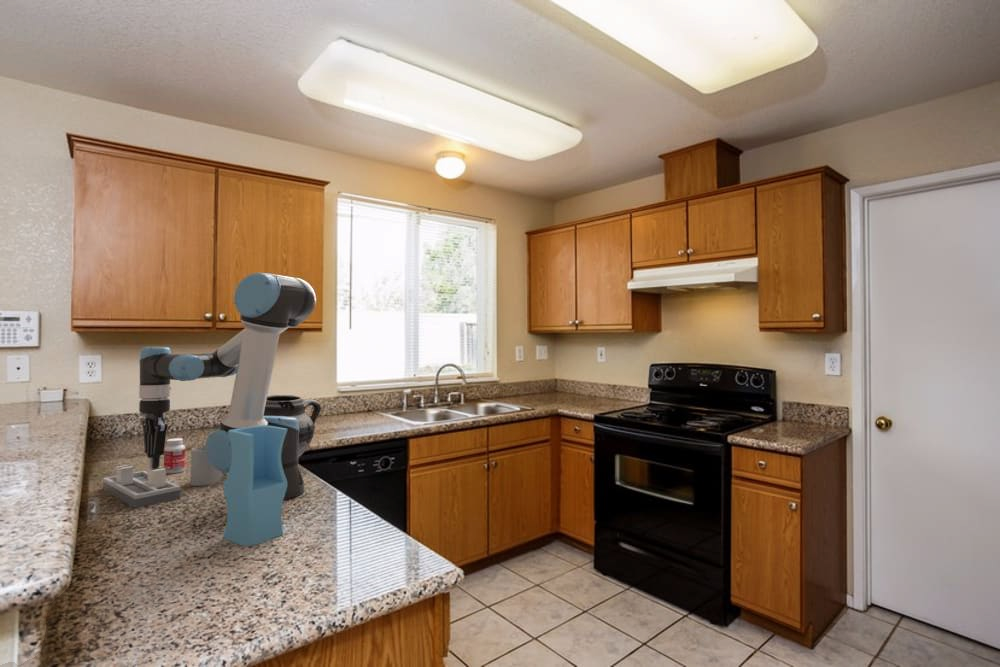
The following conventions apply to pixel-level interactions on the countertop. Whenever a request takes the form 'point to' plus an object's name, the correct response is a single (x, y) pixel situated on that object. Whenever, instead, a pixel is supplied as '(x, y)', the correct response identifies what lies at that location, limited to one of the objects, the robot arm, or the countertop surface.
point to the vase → (255, 485)
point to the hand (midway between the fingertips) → (153, 478)
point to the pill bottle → (174, 456)
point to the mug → (202, 468)
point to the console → (141, 490)
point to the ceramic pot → (295, 415)
